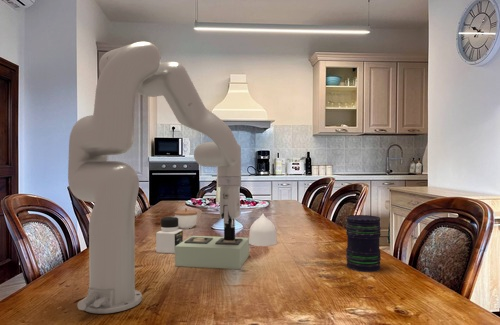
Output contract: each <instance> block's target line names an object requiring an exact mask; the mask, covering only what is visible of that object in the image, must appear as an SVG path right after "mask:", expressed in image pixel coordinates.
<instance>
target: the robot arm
mask: <svg viewBox="0 0 500 325" xmlns="http://www.w3.org/2000/svg"><path fill="white" fill-rule="evenodd" d="M161 61H162V58H161V53H160V50H159V48H158V47H157V45H155V44H154V43H152V42H149V41H145V40H142V41H136V42H133V43H130V44H126V45H124V46H121V47H117V48H115V49H112V50H109V51H107V52H105V53H104V54H103V55H102V56H101V57H100V59H99V63H98V69H99V72H100V74H99V77H98V80H97V84H96V87H95V96H94V104H93V107H94V108H93V113H92V114H93V115H86V116H84V117H81V118H79V119H78V120H77V121H76V122H75V123H74V125H73V126H72V128H71V130H70V135H69V139H68V159H67V160H68V165H67V172H68V173H67V180H68V187H69V190H70V192H71V193H72V194H73V196H74V197H75V198H76V199H78V200H81V201H83V202H88V203H94V204H93V208H92V211H91V214H90V217H89V221H88V223H89V224H88V235H89V236H88V238H89V241H88V244H89V246H88V250H89V252H88V253H89V254H88V255H89V256H88V257H89V258H88V262H89V264H88V268H89V269H88V270H89V271H88V274H89V275H88V276H89V277H88V278H89V279H88V281H89V282H88V284H89V286H88V287H89V288H88V289H87V295H86V296H85V297H83V299H81V300H79V301H78V302H77V308H78V309H77V310H80V311H85V312H87V313H91V314H100V315H101V314H104V315H105V314H113V313H114V314H115V313H119V312H123V311H126V310H129V309H132V308H134V307H136V306H138V305H139V304H141V302H142V300H143V295H142V292H141V291H139V290H137V289H136V286H135V285H136V280H135V279H136V270H135V267H136V266H135V264H136V263H135V262H136V260H135V258H136V257H135V256H136V255H135V253H136V249H135V247H136V246H135V244H136V243H135V242H136V241H135V240H136V239H135V238H136V237H135V235H136V234H135V224H136V223H135V220H136V219H135V217H136V206H137V199H138V195H139V190H140V179H139V175H138V173H137V171H136V170H135V169H134V168H133V166H132V165H129V164H127V163H125V162H122V161H118V160H108V156H118V155H122V154H123V155H124V154H125V153H127V152H129V151H130V150H131V148H132V147H133V144H134V137H135V111H136V110H135V109H136V108H135V106H136V97H137V94H138V95H141V96H143V97H144V96H145V97H149V98H151V97H152V98H155V97H161V96H163V98H164V99H165V101H166V103H167V104H168V105H169V108H170V109H171V111H172V113H173V114H174V116H175V119H176V120H177V122H178V123H180V125H183V126H184V127H187V128H188V129H191V130H194V131H196V132H199V133H201V134H203V135H205V136H206V137H208V138H209V139H210V140H212V141H206V142H202V143H200V144H198V145H197V146H196V147H194V148H195V149H194V151H193V158H194V160H195V162H196V163H197V164H198V165H199V166H203V167H207V168H210V167H211V168H214V167H216V169H217V170H216V172H217V173H216V174H217V178H216V180H217V188H220V189H219V217H220V219H221V220H223V237H224V240H231V241H233V240H234V239H235V237H236V227H235V226H236V219H237V218H239V217H240V216H241V196H240V188H241V187H242V148H241V145H240V143H238V141H237V140H236V137H235V135H234V132H233V131H232V130H231V128H230V126H228V124H227V123H225V122H224V121H223V120H222V119H221V118H220V117H218V116H217V115H216V114H215V113H213V112H211V111H210V110H209V109H207V108H206V106H205V105H204V102H203V100H202V99H201V97H200V95H199V93H198V90H197V89H196V87H195V85H194V83H193V81H192V78H191V77H190V75H189V73H188V71H187V70H186V67H185V66H184V65H183V64H182V63H180V62H178V61H170V60H169V61H165V62H161Z"/></svg>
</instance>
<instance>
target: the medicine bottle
mask: <svg viewBox="0 0 500 325" xmlns="http://www.w3.org/2000/svg"><path fill="white" fill-rule="evenodd" d="M160 229H161V230H159V231H157V232H156V233H155V234H156V235H155V238H156V240H155V243H156V244H155V245H156V246H155V247H156V248H155V252H156V253H157V254H175V246H176V245H178V244H180V243H181V242H183V241H184V238H183V236H184V235H183V234H184V233H183V232H184V231H183V229H181V228H179V226H178V218H177V217H175V216H164V217H161V219H160Z"/></svg>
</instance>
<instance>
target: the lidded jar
mask: <svg viewBox="0 0 500 325" xmlns="http://www.w3.org/2000/svg"><path fill="white" fill-rule="evenodd" d="M174 217H177V218H178V228H179V229H182V230H183V229H184V230H187V229H188V230H189V228H190V229H192V228H193V227H194V226H196V223H197V221H198V211H197V210H190V209H189V210H188V208H187V207H186V208H184V210H177V211H175V212H174Z"/></svg>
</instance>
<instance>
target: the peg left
mask: <svg viewBox="0 0 500 325" xmlns="http://www.w3.org/2000/svg"><path fill="white" fill-rule="evenodd" d="M193 241H203V242H204V241H205V239H204V238H195V239H193Z"/></svg>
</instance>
